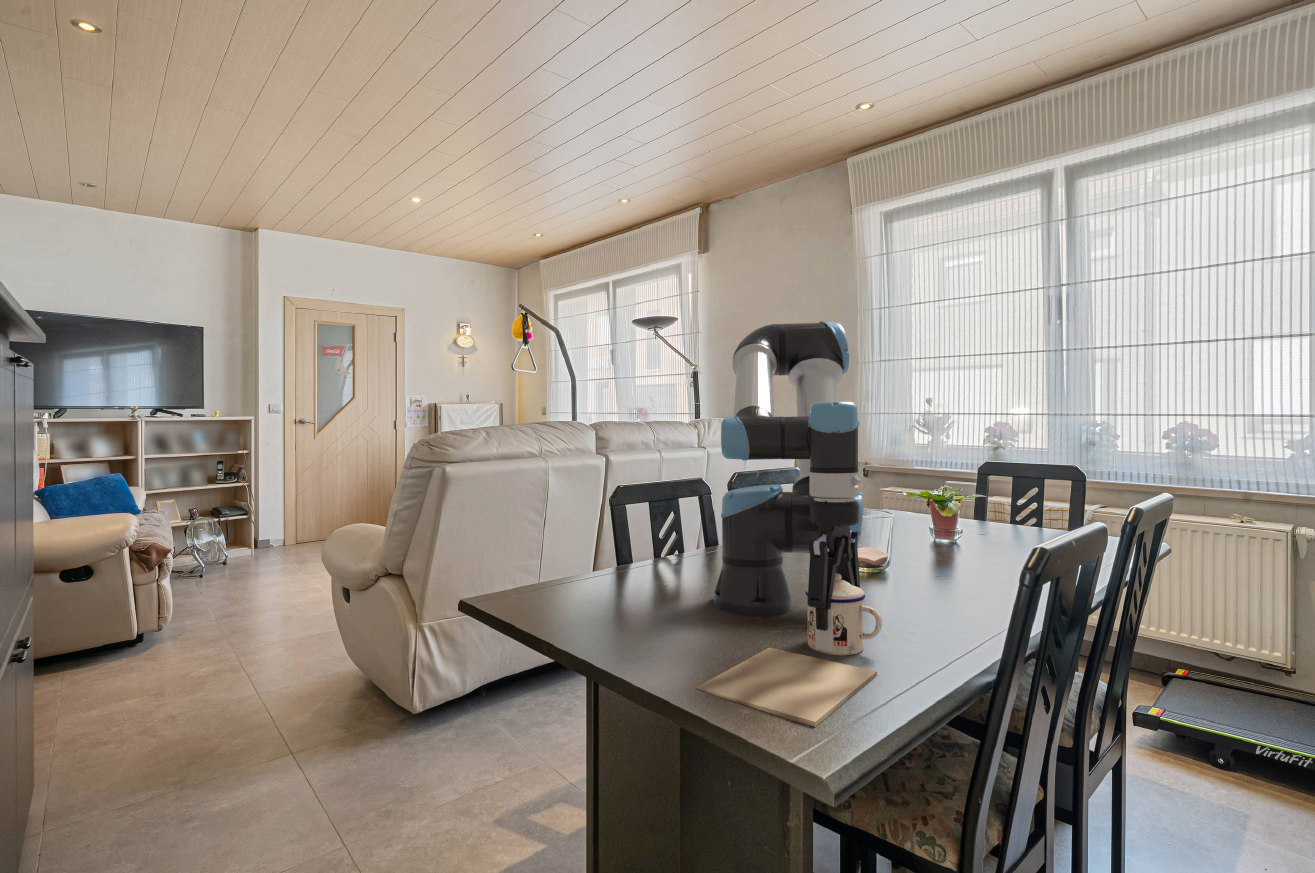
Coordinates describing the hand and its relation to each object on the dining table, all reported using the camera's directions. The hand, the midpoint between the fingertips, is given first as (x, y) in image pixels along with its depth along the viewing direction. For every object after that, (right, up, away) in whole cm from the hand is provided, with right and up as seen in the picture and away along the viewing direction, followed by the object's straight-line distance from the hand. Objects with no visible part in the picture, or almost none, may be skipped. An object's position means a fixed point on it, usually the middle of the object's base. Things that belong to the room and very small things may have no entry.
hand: (835, 642), depth 103 cm
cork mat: (-10, -1, -15) cm, 18 cm away
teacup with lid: (+1, -1, -1) cm, 2 cm away
